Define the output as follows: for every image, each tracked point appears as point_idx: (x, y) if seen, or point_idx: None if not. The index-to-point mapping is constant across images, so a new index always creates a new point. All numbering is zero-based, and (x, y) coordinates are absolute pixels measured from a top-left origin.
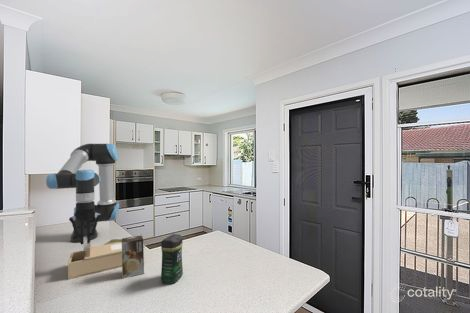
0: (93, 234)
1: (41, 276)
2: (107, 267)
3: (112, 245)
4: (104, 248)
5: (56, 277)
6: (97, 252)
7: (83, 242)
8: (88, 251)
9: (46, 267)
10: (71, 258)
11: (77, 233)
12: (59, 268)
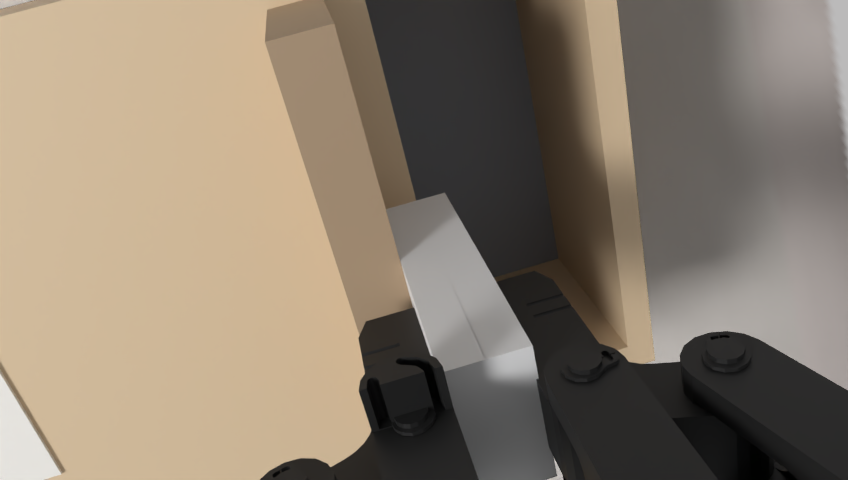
0: (273, 469)
1: (823, 103)
2: (15, 6)
3: (18, 467)
4: (128, 365)
5: (667, 11)
6: (191, 197)
7: (494, 280)
8: (296, 20)
9: (812, 321)
10: (599, 118)
11: (776, 407)
12: (686, 259)
